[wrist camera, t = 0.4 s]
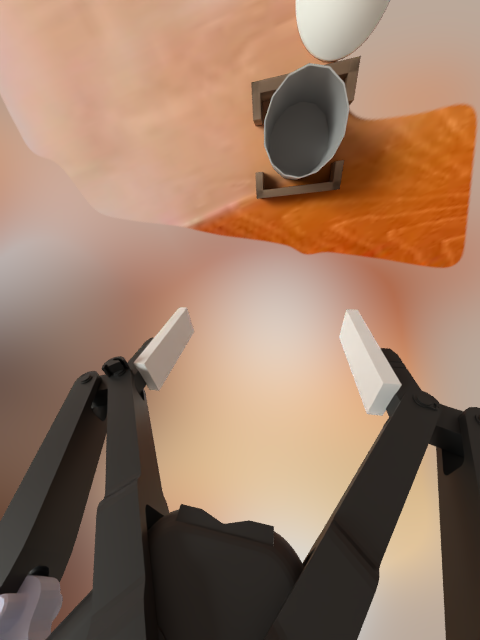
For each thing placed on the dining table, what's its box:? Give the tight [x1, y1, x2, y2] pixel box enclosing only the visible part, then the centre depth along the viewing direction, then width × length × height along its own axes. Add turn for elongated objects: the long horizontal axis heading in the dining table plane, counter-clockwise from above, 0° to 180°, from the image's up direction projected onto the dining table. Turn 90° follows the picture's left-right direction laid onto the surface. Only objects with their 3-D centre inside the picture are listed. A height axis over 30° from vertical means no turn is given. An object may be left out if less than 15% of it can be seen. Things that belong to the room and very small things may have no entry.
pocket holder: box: [252, 56, 360, 199], centre depth 26 cm, size 12×12×3 cm
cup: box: [264, 63, 349, 180], centre depth 24 cm, size 8×8×10 cm
